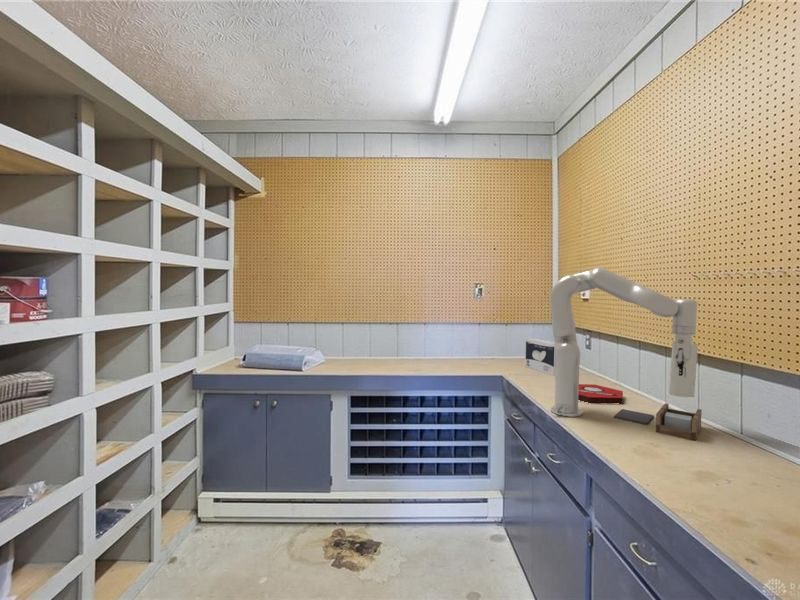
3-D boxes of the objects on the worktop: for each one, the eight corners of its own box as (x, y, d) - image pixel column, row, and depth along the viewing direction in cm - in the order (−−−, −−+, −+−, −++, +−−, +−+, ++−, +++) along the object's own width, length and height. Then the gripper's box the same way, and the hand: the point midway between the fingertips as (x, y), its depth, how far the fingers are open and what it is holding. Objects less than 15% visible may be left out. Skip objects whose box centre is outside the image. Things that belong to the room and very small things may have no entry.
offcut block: (690, 436, 143) (690, 420, 142) (664, 431, 148) (664, 415, 148) (691, 432, 147) (692, 416, 147) (666, 427, 152) (666, 412, 152)
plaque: (622, 409, 176) (622, 394, 202) (622, 401, 176) (622, 387, 202) (559, 400, 189) (567, 387, 215) (559, 393, 189) (567, 381, 215)
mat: (647, 425, 154) (647, 423, 154) (613, 417, 162) (613, 416, 162) (653, 417, 164) (653, 415, 164) (622, 410, 172) (622, 408, 172)
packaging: (524, 366, 272) (525, 338, 271) (531, 366, 274) (532, 338, 273) (554, 375, 243) (555, 344, 243) (562, 375, 245) (563, 344, 244)
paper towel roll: (665, 393, 155) (668, 340, 155) (675, 392, 158) (679, 340, 157) (683, 398, 149) (687, 343, 148) (694, 397, 151) (698, 343, 150)
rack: (695, 440, 138) (696, 421, 138) (655, 432, 146) (656, 413, 146) (700, 427, 153) (701, 409, 152) (664, 419, 161) (665, 403, 160)
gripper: (693, 332, 144) (690, 381, 144) (697, 330, 156) (695, 375, 157) (668, 330, 149) (666, 377, 149) (675, 328, 161) (672, 372, 162)
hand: (680, 376), depth 153 cm, fingers closed on paper towel roll, 3 cm apart
